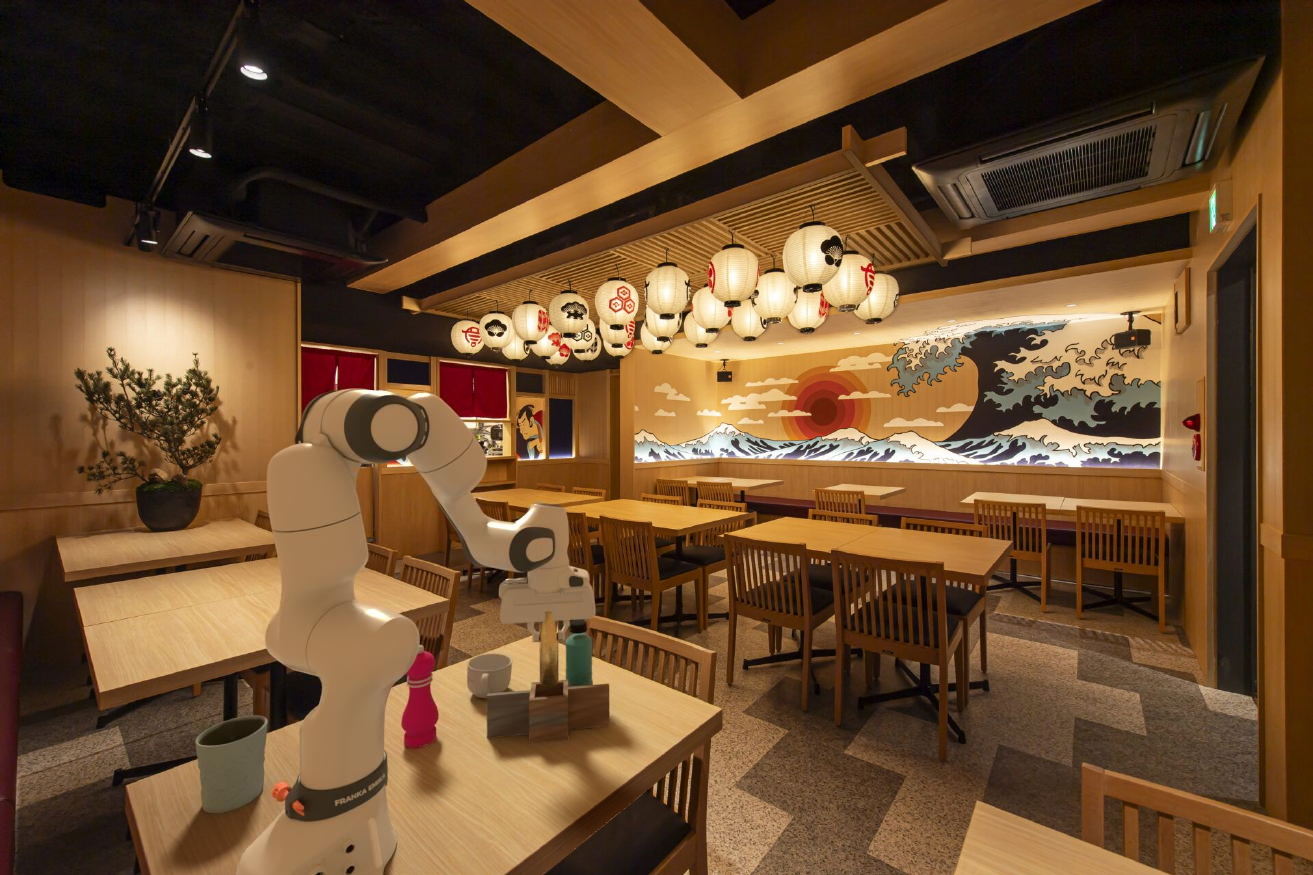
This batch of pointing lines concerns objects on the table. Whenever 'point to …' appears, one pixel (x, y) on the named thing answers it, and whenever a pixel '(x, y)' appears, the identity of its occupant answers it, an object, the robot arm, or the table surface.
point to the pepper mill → (420, 702)
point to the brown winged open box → (547, 711)
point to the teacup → (488, 674)
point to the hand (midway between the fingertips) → (548, 640)
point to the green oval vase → (231, 763)
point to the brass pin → (548, 651)
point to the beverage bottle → (579, 655)
